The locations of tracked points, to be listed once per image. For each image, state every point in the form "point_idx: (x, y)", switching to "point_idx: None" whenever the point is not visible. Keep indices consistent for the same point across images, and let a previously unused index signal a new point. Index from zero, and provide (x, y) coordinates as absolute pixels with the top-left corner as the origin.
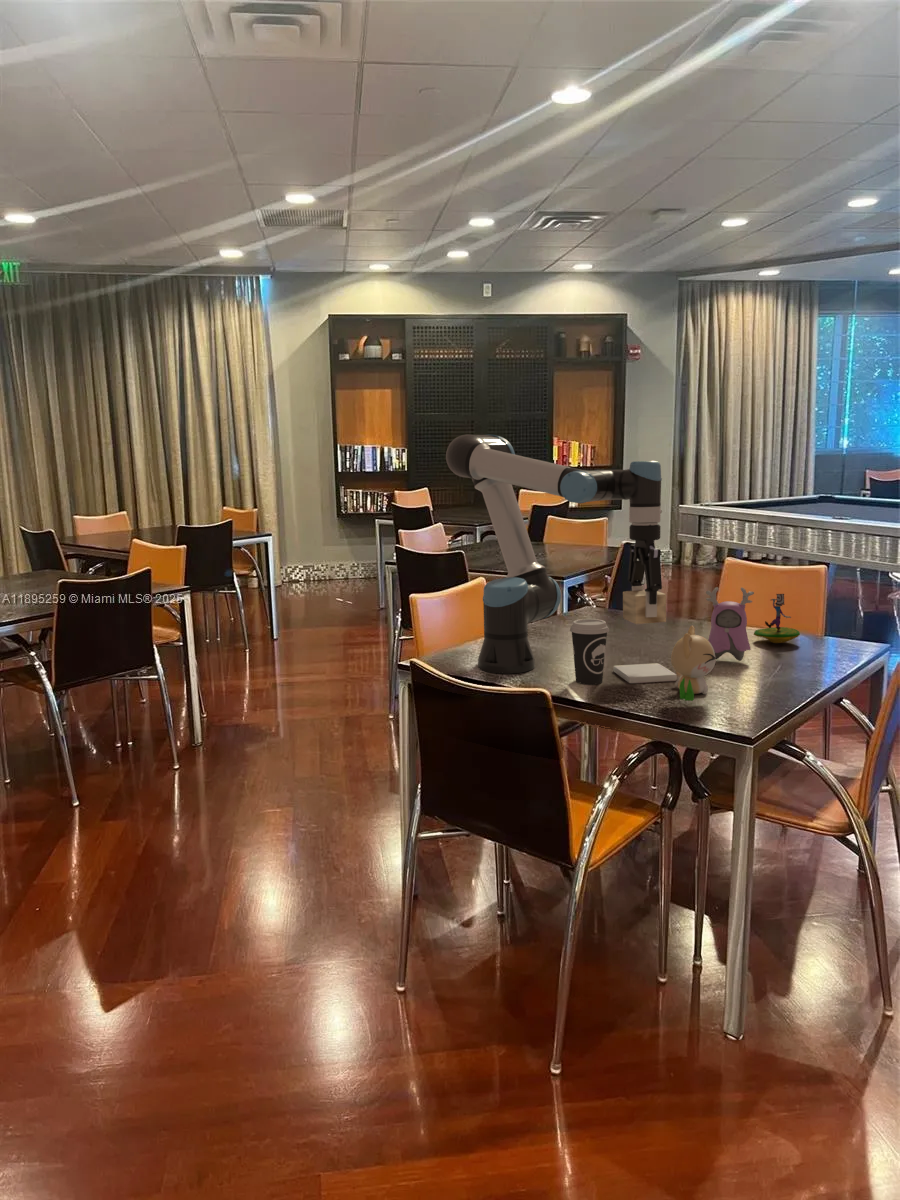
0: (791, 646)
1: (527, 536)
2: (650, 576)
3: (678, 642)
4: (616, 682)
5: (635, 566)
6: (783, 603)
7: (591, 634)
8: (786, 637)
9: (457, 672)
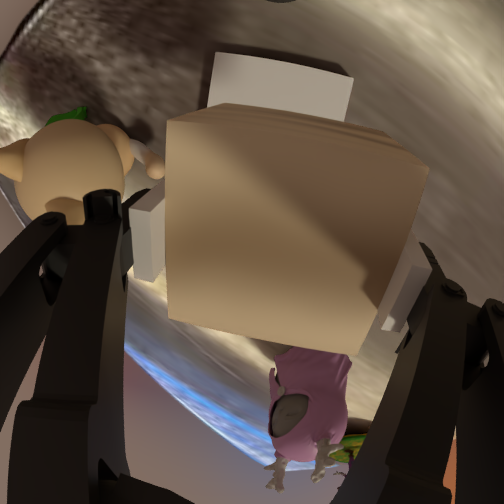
0: None
1: None
2: (6, 269)
3: (39, 150)
4: (242, 27)
5: (408, 425)
6: (338, 489)
7: None
8: None
9: None
